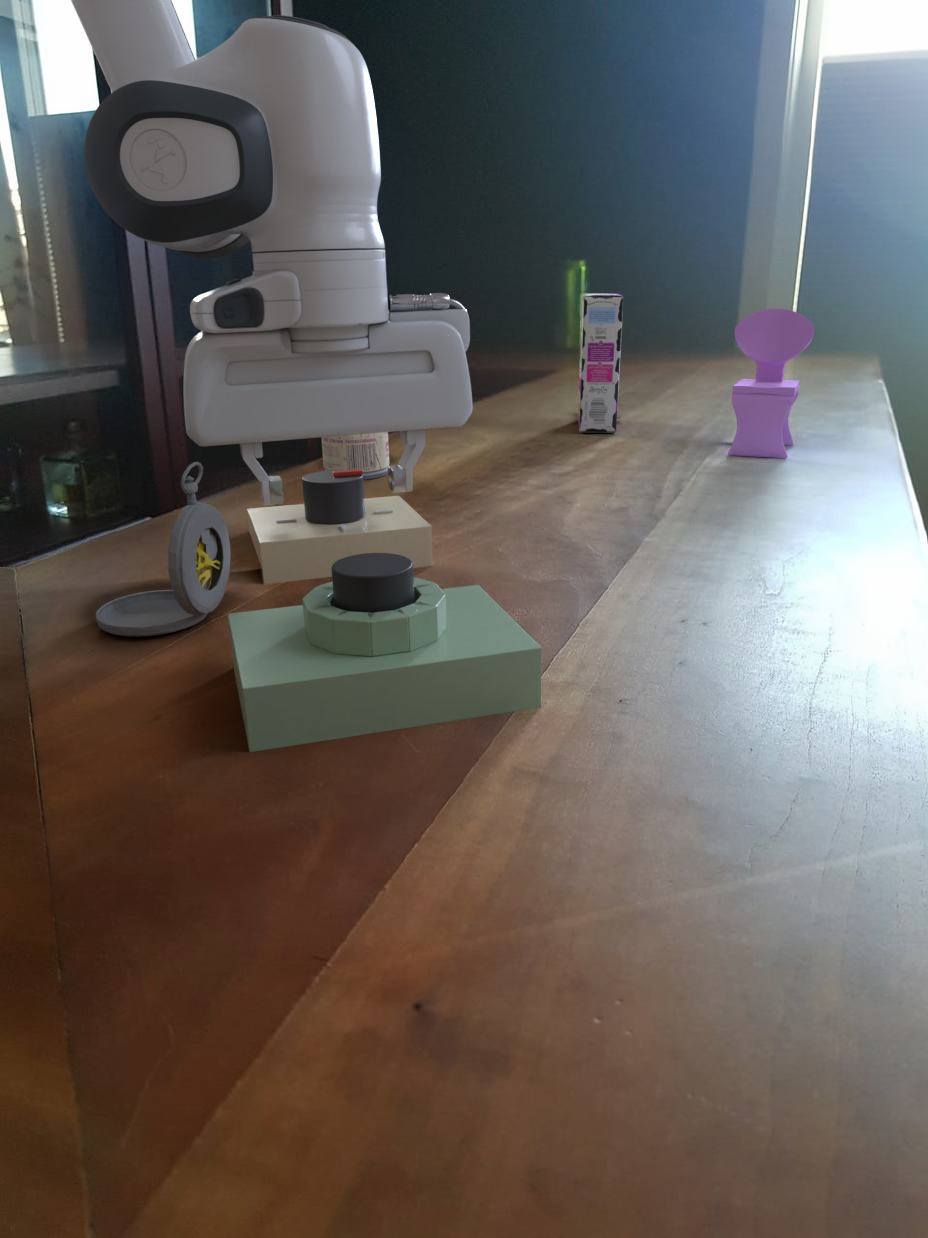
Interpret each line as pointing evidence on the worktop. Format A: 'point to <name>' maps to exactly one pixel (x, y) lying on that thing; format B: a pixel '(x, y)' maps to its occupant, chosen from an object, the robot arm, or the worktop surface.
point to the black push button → (373, 582)
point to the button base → (379, 665)
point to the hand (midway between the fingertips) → (338, 496)
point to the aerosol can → (357, 453)
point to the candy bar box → (599, 362)
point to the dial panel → (335, 538)
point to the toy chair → (767, 381)
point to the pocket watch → (179, 575)
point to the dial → (334, 496)
